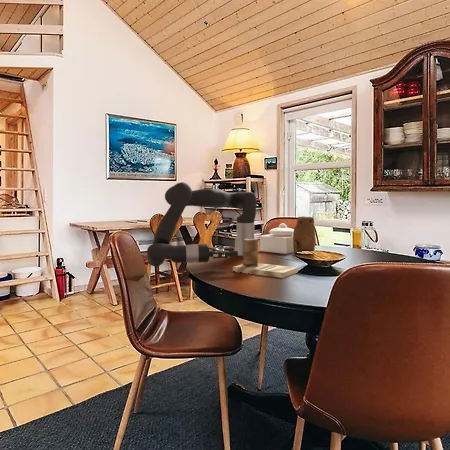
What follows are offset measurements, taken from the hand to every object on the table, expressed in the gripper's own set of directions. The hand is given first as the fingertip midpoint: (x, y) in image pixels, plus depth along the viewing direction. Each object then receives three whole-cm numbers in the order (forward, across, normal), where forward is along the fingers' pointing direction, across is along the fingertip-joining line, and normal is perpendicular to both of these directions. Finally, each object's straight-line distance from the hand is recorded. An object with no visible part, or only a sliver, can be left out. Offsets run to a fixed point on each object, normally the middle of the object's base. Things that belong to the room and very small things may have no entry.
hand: (235, 252), depth 160 cm
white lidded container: (+37, +52, +9) cm, 65 cm away
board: (+11, -5, +8) cm, 15 cm away
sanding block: (+6, 0, +6) cm, 9 cm away
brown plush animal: (+44, +37, +8) cm, 58 cm away
